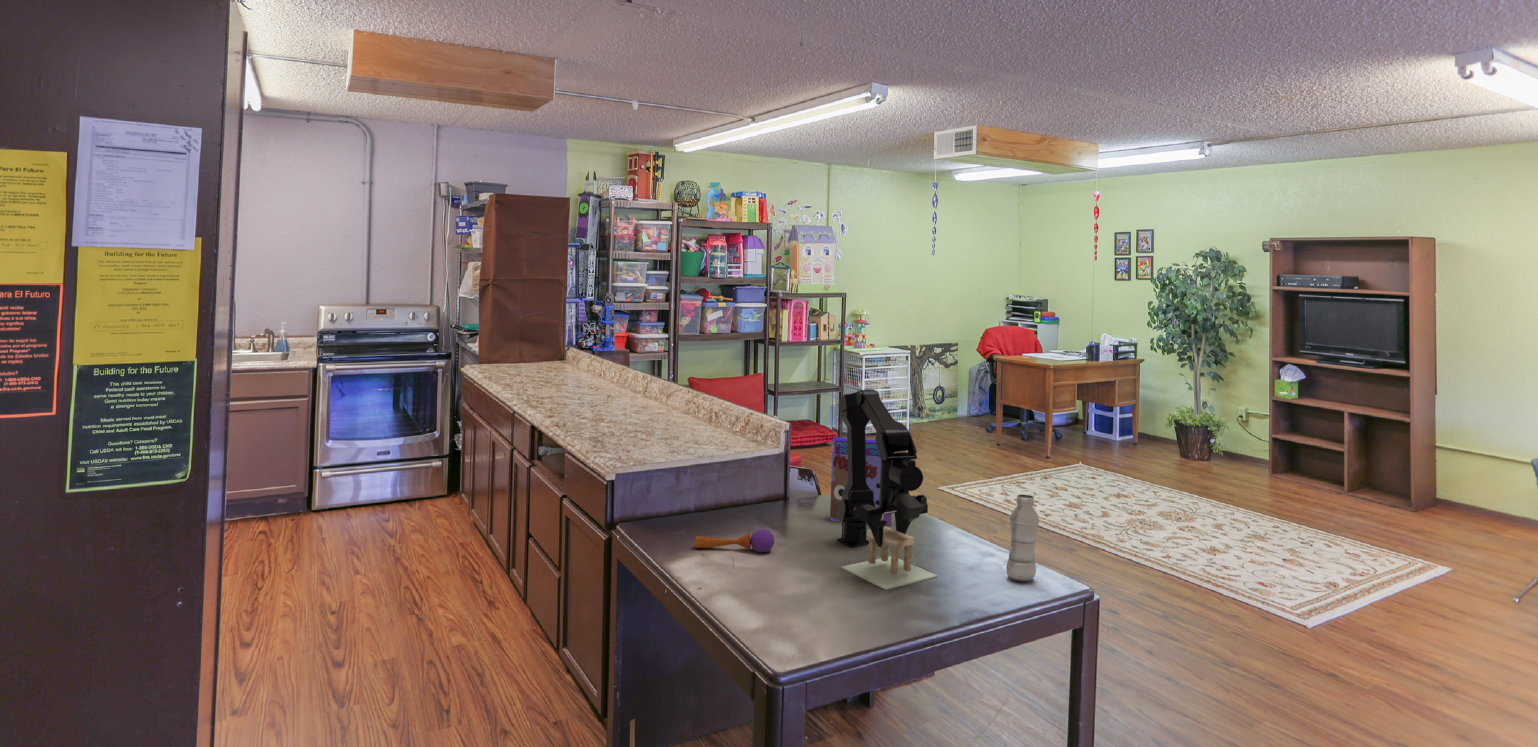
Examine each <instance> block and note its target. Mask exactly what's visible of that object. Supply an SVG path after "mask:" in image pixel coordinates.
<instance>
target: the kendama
mask: <svg viewBox="0 0 1538 747" xmlns="http://www.w3.org/2000/svg"><path fill="white" fill-rule="evenodd" d="M694 545H695V549H696V548H703V549H708V548H717V547H722V546H730V545H738V546H740V547H743V548H745V549H747V550H751V547H752V549H753V550H754V551H755V552H758V553H759V554H760V553H762V552H765V553H768V552H770V551H771V549H772V548H773V547H774V545H775V537H774V535H773V534H772V532H771V531H770V530H768V529H766V528H758V529H757V530H754V531H753V533H752V534H751V533H750V532H748V533H746V534H744V535H742V536H740V537H738V538H736V539H735V538H733V539H732V538H724V537H721V538H720V537H719V538H718V537H710V536H697V535H696V536H695V540H694ZM767 551H768V552H767ZM762 554H763V553H762Z"/></svg>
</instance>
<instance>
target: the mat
mask: <svg viewBox="0 0 1538 747" xmlns="http://www.w3.org/2000/svg"><path fill="white" fill-rule="evenodd" d="M903 567H904V559H900V558H898V574H895V575H894V574H891V573H890V572H891V555H888V561H882V560H881V557H880V558H876V560H875V564H870V563H868V560H866V561H861V562H857V563H851V564H847V565H843V566H841V569H842V570H844V571H846V572H848V573H850V574H853V575H855V576H856V577H857V578H861V579H862V580H865V581H867V582H869V583H870V584H872V585H875V586H877V587H878V588H881V589H883V590H886V591H887V590H891V589H895V588H898V587H899V588H900V587H903V586H907V585H912V584H916V583H920V582H922V581H923V582H924V581H928V580H932V579H936V578H938V575H937V574H935V573H932V572H930V571H928V570H925V569H923V568H921V567H919V566H916V565H914V564H913V563H911V571H904V570H903Z"/></svg>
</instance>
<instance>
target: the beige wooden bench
mask: <svg viewBox="0 0 1538 747" xmlns="http://www.w3.org/2000/svg"><path fill="white" fill-rule="evenodd" d="M867 537H868V541H869V544H868V560H867V561H868V563H870V564H875V560H876V559H877V558H876V557H877V555H876V553H877V552H876V551H877V544H876V541H875V539H874V536H873V534H872V532H871V529H867V536H866V538H867ZM913 545H915V537H914V536H911V535H908V534H907V533H906V534H904V533H901V532H899V531H896V529H893V528H891V527H889V526H884V528H883V542H882V547H880V548H881V550H880V551H881V554H880V558H881V560H882V561H888V556H889V547H891V550H890V552H891V554H890V556H891V572H890V573H891V574H894V575H895V574H898V559H899V558H900V556H899V554H900V552H899V551H900V548H902V547H903V549H904V550H903V561H904V567H903V570H904V571H911V564H912V550H913V549H912V546H913Z"/></svg>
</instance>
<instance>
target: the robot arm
mask: <svg viewBox="0 0 1538 747" xmlns="http://www.w3.org/2000/svg"><path fill="white" fill-rule="evenodd" d="M838 410H839V411H840V412H839V413H840V418H841V420H842V422H843V423H844V425H845V427H846V438H847V449H848V484H847V485H846V487H845V489H844V490H843V492H842V500H841V502H840V504H839V506H838V507H837V509H836V516H837V519H838V520H840V521H841V522H842V523H841V537H839V538H837V539H836V541H838V542H840V543H842V544H844V545H846V546H849V547H851V548H854V547H858V546H859V547H860V546H863V545H867V544H868V545H869V539H867V530H868V528H869V530H871V532H872V534H873V536H874V539H875V541H876V547H878V548H881V547H882V542H883V528H884V527H886V526H885V525H886V523H887V521H884V520H883V517H884V515H886V514H891V513H892V514H894V522H895V530H896V531H899V532H901V533H904V534H906V535H907V532H908V529H909V526H910V525H911V523H912V522H913V521H914V520H915V519H919V518H920V515H924V514H928V509H929V505H928V502H927V501H928V500H927V496H926V495H924V494H919V495H911V493H910V492H913V491H916V490H919V488H920V487H921V486H922V484H923V481H924V475H923V472H922V470H921V469H920V468H919V467H918V466H916V463H917V462H916V460H917V459H918V458H917V457H918V456H917V452H918V451H917V450H918V449H917V448H916V446H915V443H914V440H913V436H912V434H911V433H910V431H909V429H908V428H907V427H906V426H905V425H904V424H903V423H902V422H899V421H898V420H895V419H894V417H892V415H891V413H890V412H889V411H888V409H887V407H886V406H885V404H884V403H883V401H882V400H881V398H880V393H879V391H878V390H876V389H860V390H857V391H855V392H852V393H844V394H843V395H842V396H841V397H840V398H839V400H838ZM869 422H870V424H871V425H872V427H873V429H874V430H875V433H876V435H875V439H874V440H876V444H877V447H878V449H879V451H880V454H879V458H881V469H880V483H876V487H877V488H880V496H879V500H876V505H879V507H875V502H874V493H873V491H872V490H870V488H869V487H868V485H867V483H866V441H865V439H866V427H867V425H868V423H869ZM866 523H867V524H866ZM867 525H868V528H867Z"/></svg>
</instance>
